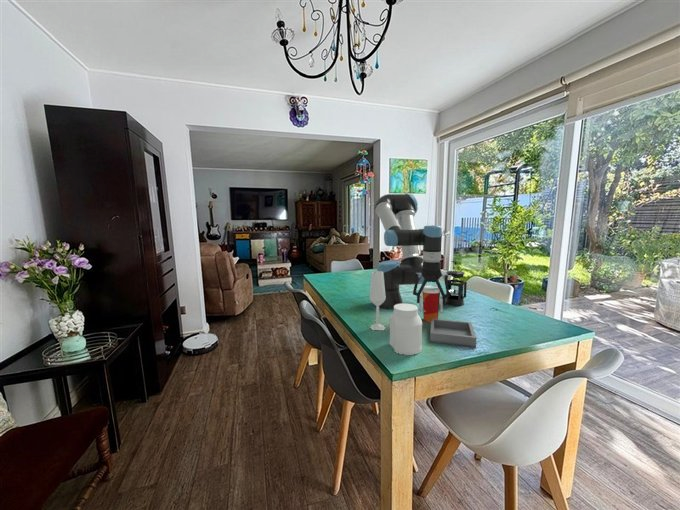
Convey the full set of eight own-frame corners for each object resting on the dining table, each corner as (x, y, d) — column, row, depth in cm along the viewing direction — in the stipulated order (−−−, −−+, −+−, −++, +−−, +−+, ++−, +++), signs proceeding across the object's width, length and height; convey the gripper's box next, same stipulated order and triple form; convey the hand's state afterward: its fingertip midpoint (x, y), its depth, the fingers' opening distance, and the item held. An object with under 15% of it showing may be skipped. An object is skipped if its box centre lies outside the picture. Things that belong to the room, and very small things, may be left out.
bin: (430, 341, 102) (430, 332, 102) (430, 326, 116) (431, 318, 116) (476, 347, 97) (476, 337, 96) (470, 330, 111) (471, 322, 111)
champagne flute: (366, 328, 116) (366, 272, 112) (374, 323, 121) (374, 270, 118) (380, 332, 111) (380, 274, 108) (388, 326, 117) (388, 271, 114)
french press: (450, 307, 141) (451, 262, 138) (440, 301, 150) (441, 260, 147) (470, 305, 143) (472, 261, 140) (459, 299, 152) (460, 259, 149)
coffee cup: (426, 315, 129) (427, 284, 127) (443, 319, 123) (444, 287, 121) (417, 320, 123) (417, 288, 121) (434, 325, 117) (435, 291, 116)
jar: (425, 354, 93) (425, 311, 91) (397, 356, 92) (398, 313, 90) (411, 339, 104) (412, 301, 102) (387, 341, 103) (387, 302, 101)
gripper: (406, 261, 120) (405, 311, 123) (458, 263, 113) (456, 316, 116) (408, 259, 127) (407, 306, 130) (457, 260, 120) (455, 310, 123)
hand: (430, 311), depth 123 cm, fingers closed on coffee cup, 8 cm apart
